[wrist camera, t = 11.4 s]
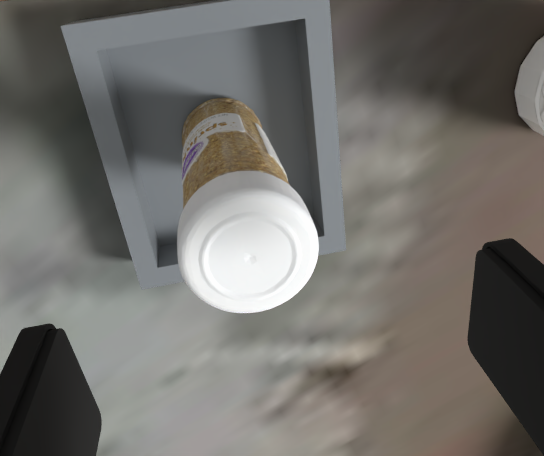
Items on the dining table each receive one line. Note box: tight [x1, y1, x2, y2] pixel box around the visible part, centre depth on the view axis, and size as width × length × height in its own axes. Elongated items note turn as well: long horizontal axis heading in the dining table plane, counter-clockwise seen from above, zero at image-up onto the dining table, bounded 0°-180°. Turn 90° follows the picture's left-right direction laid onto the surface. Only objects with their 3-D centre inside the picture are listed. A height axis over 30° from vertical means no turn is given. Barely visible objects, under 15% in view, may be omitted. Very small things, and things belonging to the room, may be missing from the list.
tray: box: [61, 0, 346, 290], centre depth 26 cm, size 14×12×3 cm
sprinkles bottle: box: [177, 98, 319, 313], centre depth 21 cm, size 5×5×13 cm
